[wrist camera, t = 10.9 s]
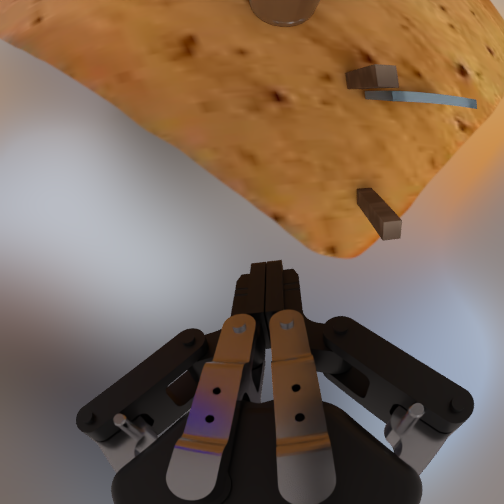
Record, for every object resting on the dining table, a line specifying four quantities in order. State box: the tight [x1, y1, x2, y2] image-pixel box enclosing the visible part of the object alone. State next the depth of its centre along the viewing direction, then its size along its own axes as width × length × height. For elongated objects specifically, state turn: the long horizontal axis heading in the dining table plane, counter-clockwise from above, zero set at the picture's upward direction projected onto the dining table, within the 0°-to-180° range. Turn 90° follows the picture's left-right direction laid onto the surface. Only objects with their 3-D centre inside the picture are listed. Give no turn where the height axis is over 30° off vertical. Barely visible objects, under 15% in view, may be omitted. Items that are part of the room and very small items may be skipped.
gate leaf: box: [365, 91, 477, 109], centre depth 26 cm, size 13×1×10 cm, turn 101°
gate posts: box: [345, 64, 402, 240], centre depth 31 cm, size 21×2×12 cm, turn 10°
